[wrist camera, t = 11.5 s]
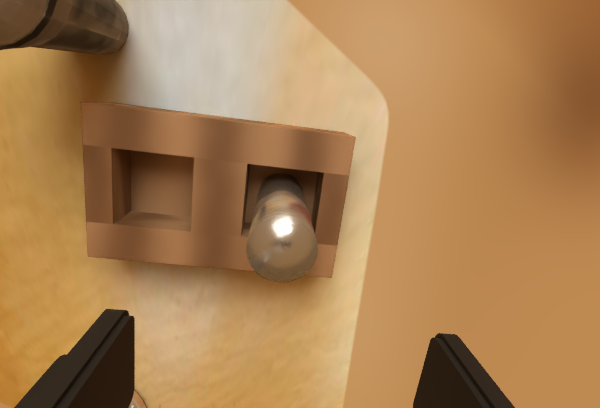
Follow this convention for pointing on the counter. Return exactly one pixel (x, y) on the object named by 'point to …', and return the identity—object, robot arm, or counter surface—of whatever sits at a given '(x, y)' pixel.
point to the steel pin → (281, 231)
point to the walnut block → (201, 183)
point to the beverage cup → (63, 25)
